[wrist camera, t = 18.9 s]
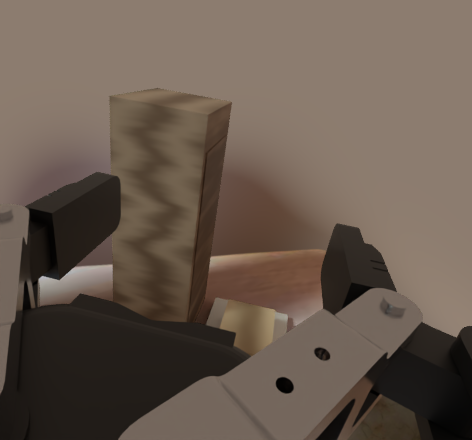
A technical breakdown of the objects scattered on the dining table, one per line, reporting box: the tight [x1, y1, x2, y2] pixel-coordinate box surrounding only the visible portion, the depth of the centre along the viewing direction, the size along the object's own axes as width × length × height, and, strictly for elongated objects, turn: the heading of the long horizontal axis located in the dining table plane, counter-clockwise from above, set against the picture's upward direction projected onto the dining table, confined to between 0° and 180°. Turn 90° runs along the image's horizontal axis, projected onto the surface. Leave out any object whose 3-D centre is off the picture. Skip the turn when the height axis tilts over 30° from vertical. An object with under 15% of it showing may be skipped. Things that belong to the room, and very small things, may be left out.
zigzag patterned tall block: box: [110, 88, 232, 323], centre depth 44 cm, size 10×12×32 cm
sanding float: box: [220, 299, 276, 356], centre depth 40 cm, size 7×21×4 cm, turn 170°
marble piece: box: [347, 395, 421, 440], centre depth 42 cm, size 17×15×4 cm
